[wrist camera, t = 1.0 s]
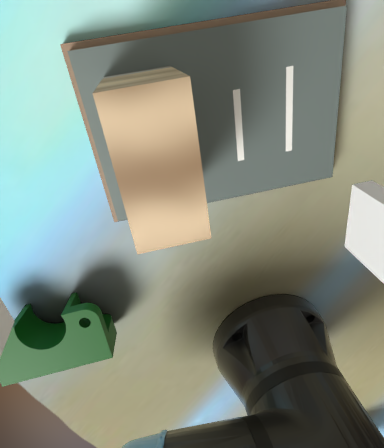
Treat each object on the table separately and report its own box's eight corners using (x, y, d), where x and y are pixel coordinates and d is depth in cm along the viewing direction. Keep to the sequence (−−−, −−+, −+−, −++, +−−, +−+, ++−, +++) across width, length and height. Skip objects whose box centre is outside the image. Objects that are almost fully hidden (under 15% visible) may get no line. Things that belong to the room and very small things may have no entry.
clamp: (91, 273, 40) (112, 299, 32) (105, 315, 41) (128, 349, 34) (-19, 316, 34) (-26, 359, 27) (2, 362, 36) (1, 415, 28)
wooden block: (189, 186, 29) (211, 238, 22) (134, 197, 29) (137, 254, 21) (169, 65, 24) (190, 76, 17) (103, 77, 24) (92, 93, 16)
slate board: (325, 173, 33) (336, 180, 32) (114, 217, 32) (114, 227, 30) (338, -1, 26) (354, -4, 24) (62, 44, 24) (57, 44, 22)
